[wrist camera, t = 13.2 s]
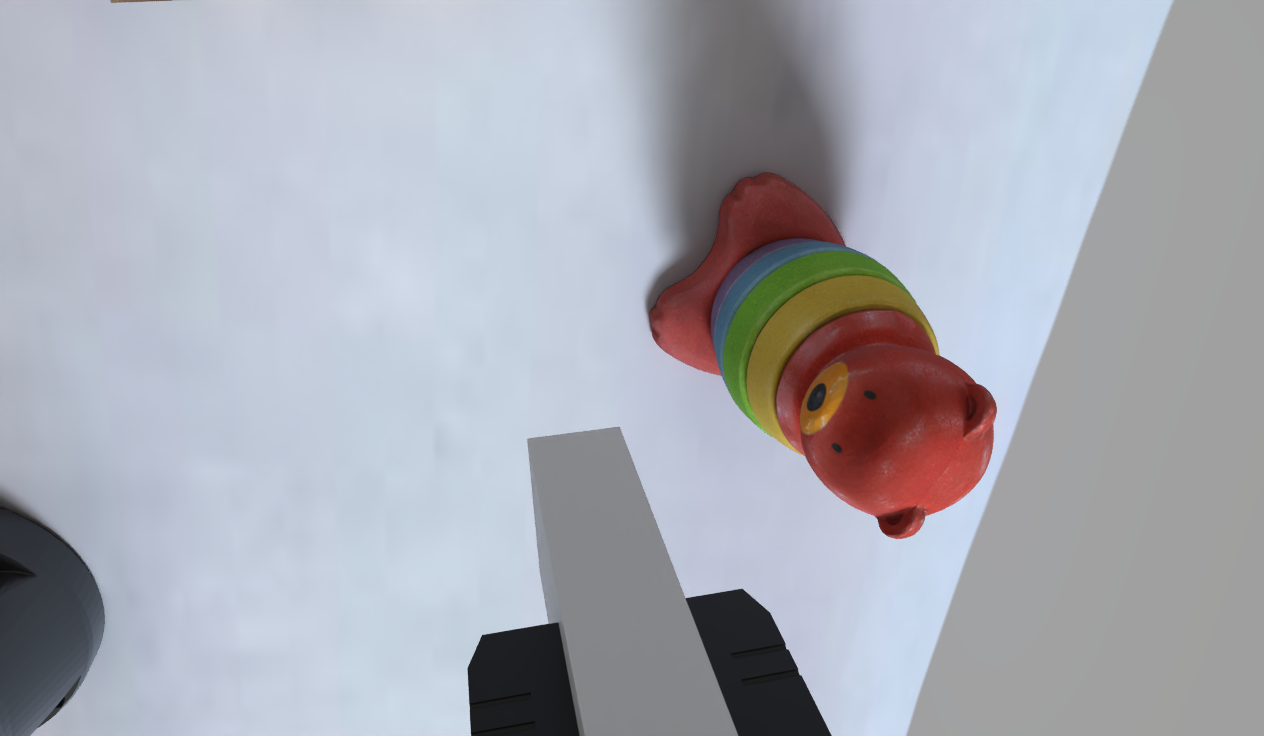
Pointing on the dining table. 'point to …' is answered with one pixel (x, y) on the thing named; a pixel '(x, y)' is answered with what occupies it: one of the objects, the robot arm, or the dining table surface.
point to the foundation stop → (134, 0)
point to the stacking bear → (829, 357)
